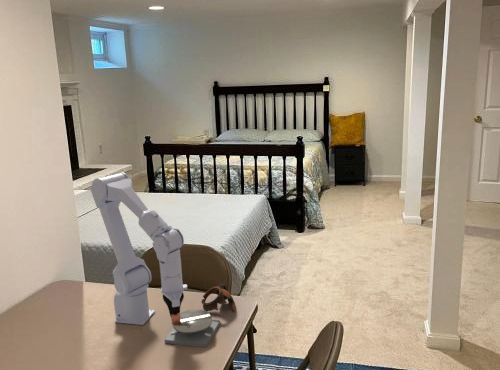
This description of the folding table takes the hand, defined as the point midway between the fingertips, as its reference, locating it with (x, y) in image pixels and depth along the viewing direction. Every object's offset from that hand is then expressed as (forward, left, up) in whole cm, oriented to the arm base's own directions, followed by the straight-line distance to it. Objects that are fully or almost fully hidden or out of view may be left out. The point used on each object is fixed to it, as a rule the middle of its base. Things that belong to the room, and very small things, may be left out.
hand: (175, 317), depth 127 cm
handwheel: (+5, +1, -4) cm, 6 cm away
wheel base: (+5, +1, -5) cm, 7 cm away
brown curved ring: (+8, +16, -5) cm, 18 cm away
